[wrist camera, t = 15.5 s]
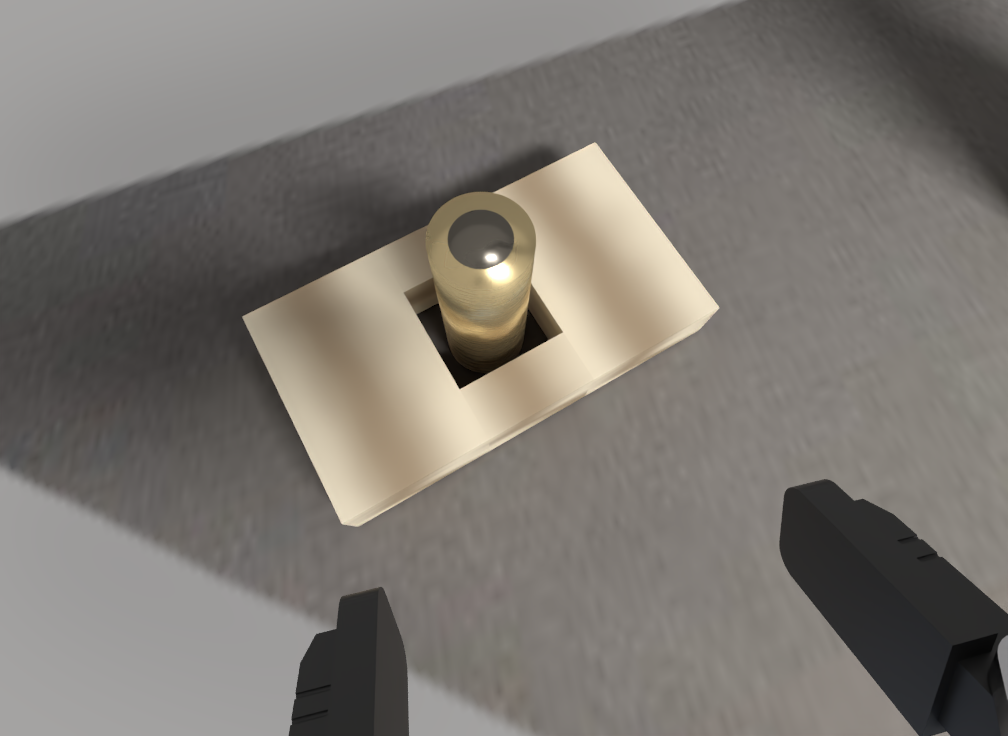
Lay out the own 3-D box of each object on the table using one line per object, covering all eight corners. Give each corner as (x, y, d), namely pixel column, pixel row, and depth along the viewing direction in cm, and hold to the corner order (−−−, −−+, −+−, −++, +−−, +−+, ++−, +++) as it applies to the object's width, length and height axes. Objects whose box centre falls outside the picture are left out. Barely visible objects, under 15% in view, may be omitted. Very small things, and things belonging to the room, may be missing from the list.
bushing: (499, 289, 31) (501, 174, 21) (537, 349, 30) (557, 257, 20) (434, 323, 30) (405, 220, 21) (471, 386, 29) (459, 308, 20)
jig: (586, 177, 33) (595, 142, 30) (698, 330, 30) (719, 307, 28) (266, 338, 30) (241, 316, 27) (358, 526, 27) (342, 524, 24)
